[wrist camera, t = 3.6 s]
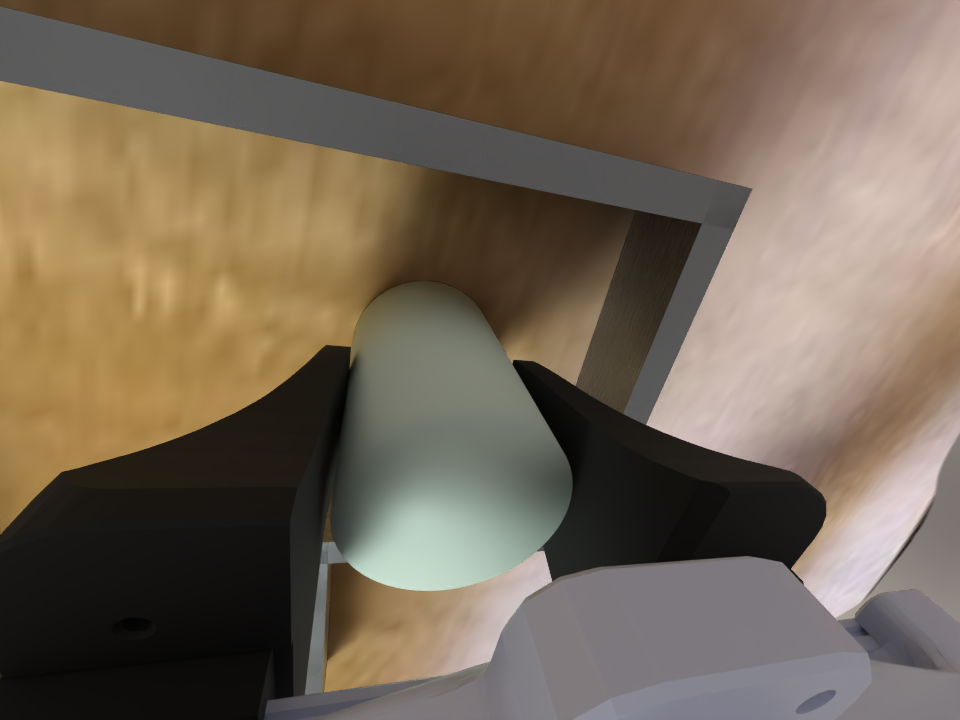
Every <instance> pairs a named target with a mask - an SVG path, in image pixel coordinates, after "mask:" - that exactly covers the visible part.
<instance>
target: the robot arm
mask: <svg viewBox="0 0 960 720" xmlns="http://www.w3.org/2000/svg"><path fill="white" fill-rule="evenodd" d="M350 353H351V347H344V346H331V345H326V346H325V347H323V348H322V349H321V350H320V351H319V352H318V353H317V354H316V355H315V356H314V357H313V358H312V359H311V360H310V361H308V362H307V363H306V364H305V365H304V366H303V367H302V368H301V369H299V370H298V371H297V372H296V373H295V374H294V375H292V376H291V377H290V378H289V379H288V380H286V381H285V382H284V383H282V384H281V385H280V386H278V387H277V388H275V389H274V390H273V391H271V392H270V393H269V394H267V395H266V396H264V397H262V398H261V399H259V400H258V401H256V402H254V403H252V404H251V405H249V406H247V407H245V408H243V409H242V410H240V411H238V412H236V413H234V414H232V415H230V416H228V417H225V418H223V419H221V420H219V421H217V422H214V423H212V424H210V425H208V426H206V427H204V428H201V429H199V430H197V431H194V432H192V433H189V434H187V435H184V436H181V437H179V438H176V439H173V440H171V441H168V442H165V443H162V444H159V445H156V446H153V447H150V448H147V449H144V450H141V451H138V452H135V453H131V454H128V455H124V456H120V457H117V458H113V459H110V460H106V461H102V462H99V463H95V464H91V465H88V466H84V467H81V468H77V469H73V470H69V471H64V472H61V473H60V474H59V475H58V476H57V477H56V478H55V479H54V480H53V481H52V482H51V483H50V484H49V485H48V486H47V487H45V488H44V489H43V490H42V491H41V492H40V493H39V494H38V495H37V496H36V497H35V498H34V499H33V500H32V501H31V502H30V503H29V504H28V506H27V507H26V508H25V509H24V510H23V511H22V512H21V513H20V514H19V515H18V516H17V517H16V518H15V520H14V521H13V522H12V523H11V524H10V525H9V526H8V527H7V528H6V529H5V530H4V531H3V533H2V534H1V535H0V674H1V675H2V678H1V680H0V720H960V623H959V622H958V621H957V620H956V619H954V618H953V617H952V616H951V615H950V614H948V613H947V612H946V611H945V610H943V609H942V608H941V607H940V606H939V605H938V604H936V603H935V602H934V601H933V600H932V599H931V598H929V597H928V596H927V595H926V594H925V593H923V592H922V591H921V590H918V589H909V590H899V591H891V592H884V593H880V594H878V595H876V596H874V597H872V598H870V599H869V600H868V601H867V602H866V603H864V605H862V607H861V608H860V609H859V610H858V611H857V612H856V614H855V618H851V619H844V620H838V621H837V620H836V619H835V618H834V617H833V616H832V615H831V614H830V613H829V611H828V610H827V609H826V608H825V607H824V606H823V605H822V604H821V603H820V602H819V601H818V600H817V599H816V598H815V597H814V596H813V595H812V593H811V592H810V591H809V590H808V589H807V588H806V587H805V586H804V584H803V581H802V580H801V579H800V578H799V577H798V576H797V575H796V574H795V573H794V572H793V571H792V570H791V568H792V566H793V565H794V564H795V563H796V561H797V560H798V559H799V558H800V556H801V555H802V554H803V552H804V551H805V550H806V549H807V547H808V546H809V545H810V544H811V542H812V541H813V540H814V538H815V537H816V535H817V534H818V532H819V531H820V529H821V528H822V526H823V523H824V520H825V518H826V501H825V499H824V497H823V495H822V494H821V493H820V492H819V491H818V490H817V489H815V488H814V487H813V486H812V485H810V484H809V483H808V482H807V481H805V480H804V479H803V478H802V477H800V476H799V475H797V474H795V473H793V472H791V471H788V470H783V469H779V468H775V467H771V466H767V465H763V464H759V463H755V462H751V461H747V460H743V459H739V458H736V457H732V456H729V455H726V454H722V453H719V452H716V451H713V450H709V449H706V448H703V447H701V446H698V445H695V444H692V443H689V442H686V441H684V440H681V439H678V438H676V437H673V436H671V435H668V434H666V433H663V432H661V431H658V430H656V429H654V428H651V427H649V426H647V425H645V424H643V423H641V422H639V421H636V420H634V419H632V418H630V417H628V416H626V415H624V414H622V413H620V412H618V411H616V410H615V409H613V408H611V407H609V406H608V405H606V404H604V403H602V402H600V401H599V400H597V399H595V398H594V397H592V396H590V395H589V394H587V393H585V392H584V391H582V390H581V389H579V388H577V387H576V386H574V385H573V384H571V383H570V382H568V381H566V380H565V379H563V378H562V377H560V376H559V375H557V374H555V373H554V372H552V371H550V370H549V369H547V368H545V367H544V366H542V365H540V364H538V363H536V362H533V361H522V360H514V361H513V364H512V365H513V366H514V368H515V370H516V372H517V373H518V375H519V377H520V378H521V380H522V382H523V383H524V385H525V387H526V389H527V390H528V392H529V394H530V395H531V397H532V399H533V401H534V402H535V404H536V406H537V407H538V409H539V411H540V413H541V414H542V416H543V418H544V419H545V421H546V423H547V425H548V426H549V428H550V430H551V431H552V433H553V435H554V437H555V438H556V440H557V442H558V443H559V445H560V447H561V449H562V450H563V452H564V454H565V455H566V458H567V460H568V462H569V465H570V468H571V473H572V485H573V489H572V495H571V500H570V504H569V507H568V510H567V512H566V514H565V516H564V518H563V520H562V522H561V524H560V525H559V527H558V528H557V530H556V531H555V532H554V534H553V535H552V536H551V537H550V539H549V540H548V541H547V542H546V543H545V544H544V545H543V548H544V551H545V555H546V558H547V562H548V566H549V570H550V574H551V578H552V582H551V583H549V584H548V585H546V586H544V587H543V588H541V589H539V590H538V591H536V592H534V593H533V594H531V595H530V596H528V597H526V598H525V600H524V601H523V602H522V604H521V605H520V606H519V608H518V609H517V610H516V612H515V613H514V614H513V616H512V617H511V618H510V620H509V621H508V622H507V624H506V625H505V627H504V629H503V630H502V632H501V635H500V637H499V640H498V643H497V646H496V648H495V651H494V654H493V657H492V660H491V662H487V663H484V664H480V665H477V666H474V667H471V668H468V669H465V670H461V671H458V672H455V673H452V674H449V675H446V676H438V677H431V678H424V679H417V680H410V681H403V682H396V683H389V684H381V685H374V686H367V687H360V688H353V689H346V690H339V691H332V692H325V693H317V694H310V695H305V689H306V680H307V671H308V662H309V654H310V645H311V636H312V628H313V619H314V611H315V602H316V594H317V586H318V577H319V569H320V561H321V553H322V545H323V537H324V529H325V524H326V518H327V513H328V509H329V504H330V500H331V496H332V491H333V487H334V483H335V475H336V467H337V460H338V452H339V444H340V436H341V429H342V421H343V413H344V405H345V398H346V392H347V385H348V377H349V369H350Z"/></svg>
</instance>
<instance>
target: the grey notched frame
mask: <svg viewBox="0 0 960 720" xmlns="http://www.w3.org/2000/svg"><path fill="white" fill-rule="evenodd" d="M0 81H5V82H10V83H15V84H20V85H25V86H30V87H34V88H39V89H44V90H49V91H54V92H59V93H64V94H69V95H74V96H79V97H84V98H88V99H93V100H98V101H103V102H108V103H113V104H118V105H123V106H128V107H133V108H138V109H142V110H147V111H152V112H157V113H162V114H167V115H172V116H177V117H182V118H187V119H192V120H196V121H201V122H206V123H211V124H216V125H221V126H226V127H231V128H236V129H241V130H246V131H250V132H255V133H260V134H265V135H270V136H275V137H280V138H285V139H290V140H295V141H300V142H304V143H309V144H314V145H319V146H324V147H329V148H334V149H339V150H344V151H349V152H353V153H358V154H363V155H368V156H373V157H378V158H383V159H388V160H393V161H398V162H403V163H407V164H412V165H417V166H422V167H427V168H432V169H437V170H442V171H447V172H452V173H457V174H461V175H466V176H471V177H476V178H481V179H486V180H491V181H496V182H501V183H506V184H511V185H515V186H520V187H525V188H530V189H535V190H540V191H545V192H550V193H555V194H560V195H565V196H569V197H574V198H579V199H584V200H589V201H594V202H599V203H604V204H609V205H614V206H619V207H623V208H628V209H633V210H636V212H635V215H634V218H633V221H632V224H631V227H630V230H629V233H628V236H627V239H626V242H625V244H624V247H623V250H622V253H621V256H620V259H619V262H618V265H617V268H616V271H615V274H614V276H613V279H612V282H611V285H610V288H609V291H608V294H607V297H606V300H605V303H604V306H603V309H602V311H601V314H600V317H599V320H598V323H597V326H596V329H595V332H594V335H593V338H592V341H591V344H590V346H589V349H588V352H587V355H586V358H585V361H584V364H583V367H582V370H581V373H580V376H579V378H578V381H577V384H576V387H577V388H579V389H581V390H582V391H584V392H585V393H587V394H589V395H590V396H592V397H594V398H595V399H597V400H599V401H600V402H602V403H604V404H606V405H608V406H609V407H611V408H613V409H615V410H616V411H618V412H620V413H622V414H624V415H626V416H628V417H630V418H632V419H634V420H636V421H639V422H641V423H643V424H645V425H646V423H647V421H648V419H649V417H650V414H651V412H652V410H653V408H654V406H655V403H656V401H657V399H658V397H659V394H660V392H661V390H662V388H663V386H664V383H665V381H666V379H667V377H668V375H669V372H670V370H671V368H672V366H673V363H674V361H675V359H676V357H677V355H678V352H679V350H680V348H681V346H682V343H683V341H684V339H685V337H686V335H687V332H688V330H689V328H690V326H691V324H692V321H693V319H694V317H695V315H696V312H697V310H698V308H699V306H700V304H701V301H702V299H703V297H704V295H705V292H706V290H707V288H708V286H709V284H710V281H711V279H712V277H713V275H714V273H715V270H716V268H717V266H718V264H719V261H720V259H721V257H722V255H723V253H724V250H725V248H726V246H727V244H728V242H729V239H730V237H731V235H732V233H733V230H734V228H735V226H736V224H737V222H738V219H739V217H740V215H741V213H742V210H743V208H744V206H745V204H746V202H747V199H748V197H749V195H750V193H751V191H752V189H751V188H747V187H743V186H739V185H735V184H731V183H727V182H722V181H718V180H714V179H710V178H706V177H702V176H698V175H694V174H689V173H685V172H681V171H677V170H673V169H669V168H665V167H661V166H656V165H652V164H648V163H644V162H640V161H636V160H632V159H628V158H623V157H619V156H615V155H611V154H607V153H603V152H599V151H595V150H590V149H586V148H582V147H578V146H574V145H570V144H566V143H562V142H558V141H553V140H549V139H545V138H541V137H537V136H533V135H529V134H525V133H520V132H516V131H512V130H508V129H504V128H500V127H496V126H492V125H487V124H483V123H479V122H475V121H471V120H467V119H463V118H459V117H454V116H450V115H446V114H442V113H438V112H434V111H430V110H426V109H421V108H417V107H413V106H409V105H405V104H401V103H397V102H393V101H388V100H384V99H380V98H376V97H372V96H368V95H364V94H360V93H355V92H351V91H347V90H343V89H339V88H335V87H331V86H327V85H323V84H318V83H314V82H310V81H306V80H302V79H298V78H294V77H290V76H285V75H281V74H277V73H273V72H269V71H265V70H261V69H257V68H252V67H248V66H244V65H240V64H236V63H232V62H228V61H224V60H219V59H215V58H211V57H207V56H203V55H199V54H195V53H191V52H186V51H182V50H178V49H174V48H170V47H166V46H162V45H158V44H153V43H149V42H145V41H141V40H137V39H133V38H129V37H125V36H121V35H116V34H112V33H108V32H104V31H100V30H96V29H92V28H88V27H83V26H79V25H75V24H71V23H67V22H63V21H59V20H55V19H50V18H46V17H42V16H38V15H34V14H30V13H26V12H22V11H17V10H13V9H9V8H5V7H1V6H0ZM333 491H334V487H333ZM333 491H332V496H331V500H330V504H329V509H328V513H327V518H326V524H325V529H324V537H323V545H322V553H321V561H320V569H319V577H318V586H317V594H316V602H315V611H314V619H313V628H312V636H311V645H310V654H309V662H308V671H307V680H306V689H305V695H310V694H317V693H324V687H325V677H326V667H327V652H328V634H329V616H330V597H331V579H332V563H347V561H346V560H345V559H344V557H343V556H342V555H341V553H340V552H339V550H338V548H337V546H336V544H335V542H334V540H333V536H332V532H331V524H330V514H331V506H332V498H333ZM537 551H544V548H543V546H542V547H541V548H540V549H539V550H537ZM1 678H2V675H1V674H0V680H1Z"/></svg>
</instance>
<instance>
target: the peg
mask: <svg viewBox="0 0 960 720" xmlns="http://www.w3.org/2000/svg"><path fill="white" fill-rule="evenodd" d="M572 489H573V485H572V473H571V468H570V465H569V462H568V460H567V458H566V455H565V454H564V452H563V450H562V449H561V447H560V445H559V443H558V442H557V440H556V438H555V437H554V435H553V433H552V431H551V430H550V428H549V426H548V425H547V423H546V421H545V419H544V418H543V416H542V414H541V413H540V411H539V409H538V407H537V406H536V404H535V402H534V401H533V399H532V397H531V395H530V394H529V392H528V390H527V389H526V387H525V385H524V383H523V382H522V380H521V378H520V377H519V375H518V373H517V372H516V370H515V368H514V366H513V365H512V363H511V361H510V360H509V358H508V356H507V354H506V353H505V351H504V349H503V348H502V346H501V344H500V342H499V341H498V339H497V337H496V336H495V334H494V332H493V330H492V329H491V327H490V325H489V324H488V322H487V320H486V318H485V317H484V315H483V313H482V312H481V310H480V309H479V307H478V306H477V305H476V304H475V302H474V301H473V300H472V299H471V298H469V297H468V296H467V295H466V294H464V293H463V292H461V291H460V290H458V289H456V288H454V287H452V286H449V285H446V284H443V283H438V282H432V281H416V282H409V283H404V284H401V285H398V286H395V287H393V288H391V289H389V290H387V291H385V292H384V293H382V294H380V295H379V296H378V297H376V298H375V299H374V300H373V301H372V302H371V303H370V304H369V305H368V306H367V307H366V308H365V310H364V311H363V313H362V314H361V316H360V318H359V320H358V322H357V324H356V327H355V331H354V336H353V343H352V351H351V359H350V369H349V377H348V385H347V392H346V398H345V405H344V413H343V421H342V429H341V436H340V444H339V452H338V460H337V467H336V475H335V483H334V491H333V498H332V506H331V514H330V524H331V532H332V536H333V540H334V542H335V544H336V546H337V548H338V550H339V552H340V553H341V555H342V556H343V557H344V559H345V560H346V561H347V562H348V563H349V564H350V565H351V566H352V567H353V568H354V569H356V570H357V571H359V572H360V573H361V574H363V575H364V576H366V577H368V578H370V579H372V580H374V581H377V582H379V583H382V584H385V585H388V586H392V587H396V588H400V589H408V590H418V591H436V590H447V589H455V588H460V587H465V586H469V585H472V584H476V583H479V582H483V581H485V580H488V579H491V578H493V577H496V576H498V575H500V574H502V573H504V572H506V571H508V570H510V569H512V568H513V567H515V566H517V565H519V564H520V563H522V562H523V561H524V560H526V559H527V558H529V557H530V556H531V555H533V554H534V553H535V552H536V551H537V550H539V549H540V548H541V547H542V546H543V545H544V544H545V543H546V542H547V541H548V540H549V539H550V537H551V536H552V535H553V534H554V532H555V531H556V530H557V528H558V527H559V525H560V524H561V522H562V520H563V518H564V516H565V514H566V512H567V510H568V507H569V504H570V500H571V495H572Z"/></svg>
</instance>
